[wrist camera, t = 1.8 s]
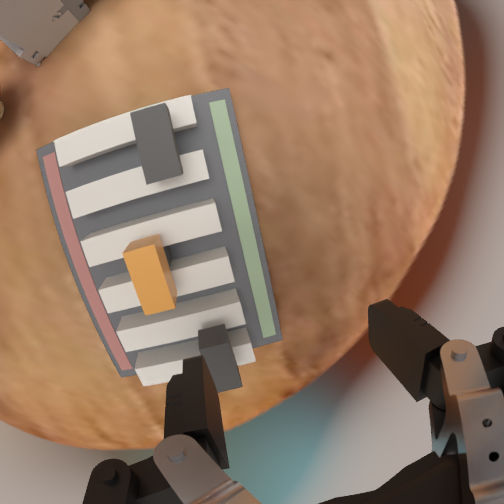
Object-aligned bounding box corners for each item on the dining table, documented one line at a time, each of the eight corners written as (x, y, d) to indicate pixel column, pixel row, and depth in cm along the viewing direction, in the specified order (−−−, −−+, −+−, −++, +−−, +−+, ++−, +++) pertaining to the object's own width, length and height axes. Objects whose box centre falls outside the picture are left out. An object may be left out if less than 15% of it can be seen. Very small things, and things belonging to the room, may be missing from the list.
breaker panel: (125, 362, 34) (110, 422, 24) (49, 149, 26) (-5, 150, 16) (276, 326, 36) (302, 381, 26) (225, 94, 27) (240, 65, 18)
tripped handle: (155, 280, 28) (145, 315, 22) (139, 230, 27) (122, 253, 20) (179, 273, 29) (175, 308, 22) (164, 223, 27) (154, 244, 20)
